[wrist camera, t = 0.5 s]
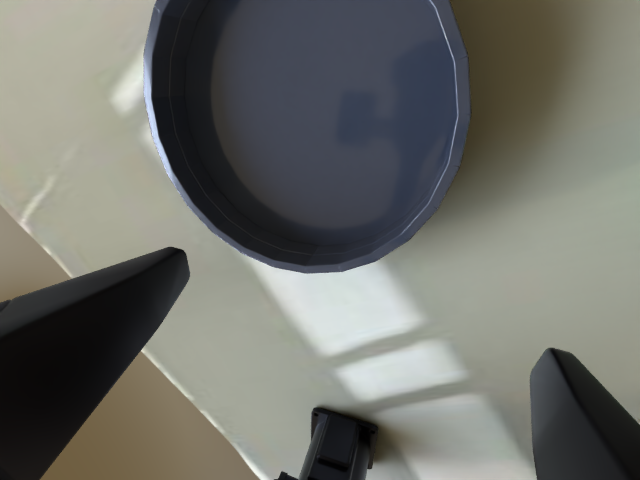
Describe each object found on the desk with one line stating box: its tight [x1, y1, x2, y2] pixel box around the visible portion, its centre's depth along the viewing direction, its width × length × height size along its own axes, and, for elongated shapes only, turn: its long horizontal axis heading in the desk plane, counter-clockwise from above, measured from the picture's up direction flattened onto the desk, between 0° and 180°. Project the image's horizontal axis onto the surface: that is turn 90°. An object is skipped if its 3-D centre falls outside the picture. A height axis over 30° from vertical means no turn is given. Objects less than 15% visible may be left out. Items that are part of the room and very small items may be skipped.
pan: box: [144, 0, 471, 273], centre depth 19 cm, size 18×18×4 cm
